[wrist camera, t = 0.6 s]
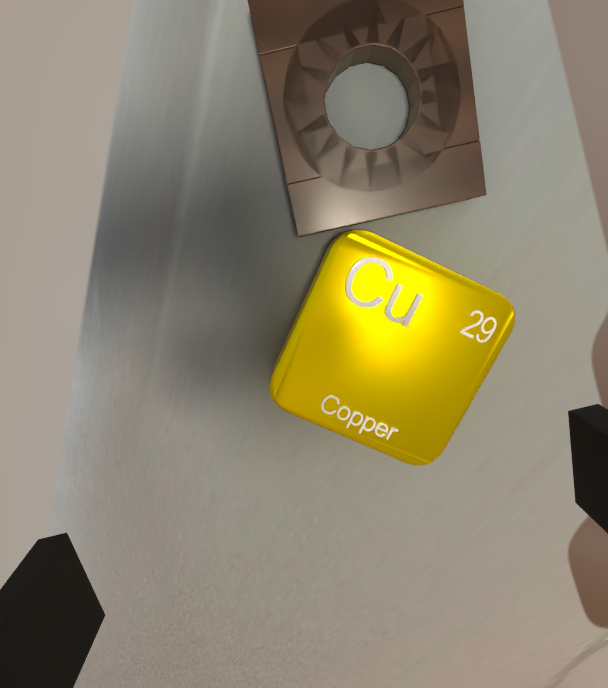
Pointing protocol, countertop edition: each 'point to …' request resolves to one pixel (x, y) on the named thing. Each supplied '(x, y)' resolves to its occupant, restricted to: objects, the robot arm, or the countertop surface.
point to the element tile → (389, 347)
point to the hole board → (423, 94)
